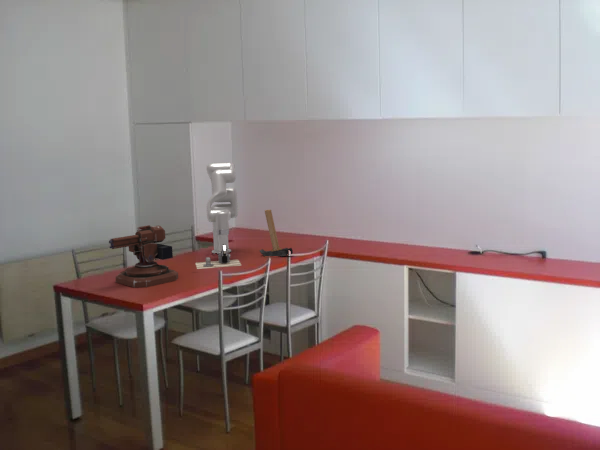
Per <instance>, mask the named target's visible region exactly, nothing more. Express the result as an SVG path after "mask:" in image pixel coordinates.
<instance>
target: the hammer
mask: <svg viewBox="0 0 600 450" xmlns="http://www.w3.org/2000/svg"><path fill="white" fill-rule="evenodd" d="M264 214H265V220H266V224H267V228H268V233H269V237H270V242H271V245H272V247H271V248H272V249H271V250H264V249H263V248H262V249H260V250H258V251H259V253H260V254H261V255H262V256H263V257H265V256H281V257H286V256H288V255H289V254H288V250H290V251H291V254H290V255H292V254H293V248H292V247H290V248H288V247H285V248H282V247H280V245H279V240H278V236H277V230H276V226H275V220H274V217H273V212H272V209H265V210H264ZM287 254H288V255H287Z"/></svg>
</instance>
